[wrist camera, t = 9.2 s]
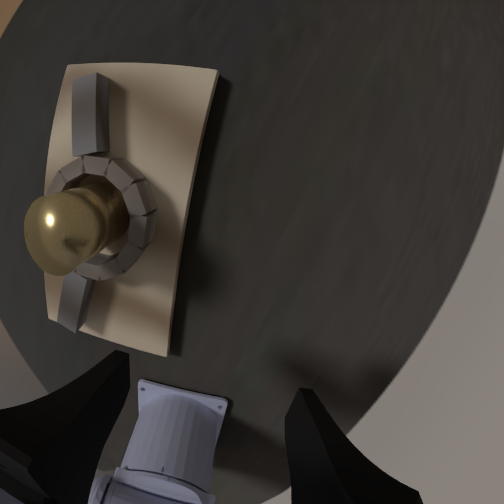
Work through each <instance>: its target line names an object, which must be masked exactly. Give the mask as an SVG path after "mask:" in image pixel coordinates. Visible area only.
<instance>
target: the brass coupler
mask: <svg viewBox="0 0 504 504" xmlns="http://www.w3.org/2000/svg"><path fill="white" fill-rule="evenodd" d="M129 224H130V214H129V212H128V209H127V206H126V203H125V200H124V197H123V195H122V192H121V191H120V190H119V189H118V188H117V187H116V186H115V185H113V184H112V183H109V182H99V183H95V184H90V185H86V186H81V187H77V188H73V189H69V190H65V191H61V192H57V193H53V194H50V195H46V196H42V197H40V198H38V199H37V200H35V201H34V202H33V203H32V204H31V206H30V207H29V209H28V211H27V214H26V217H25V223H24V235H25V241H26V245H27V248H28V250H29V253H30V255H31V257H32V258H33V260H34V261H35V262H36V264H37V265H38V266H39V267H40V268H41V269H42V270H44V271H45V272H47V273H49V274H51V275H54V276H64V275H67V274H70V273H71V272H72V271H74V270H75V269H76V268H78V267H79V266H81V265H82V264H83V263H85V262H86V261H87V260H89V259H90V258H92V257H93V256H94V255H96V254H97V253H99V252H100V251H102V250H103V249H104V248H106V247H107V246H109V245H110V244H112V243H113V242H115V241H116V240H118V239H119V238H121V237H122V236H123V235H124V234H125V232H126V231H127V229H128V227H129Z"/></svg>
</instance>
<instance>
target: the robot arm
mask: <svg viewBox="0 0 504 504" xmlns="http://www.w3.org/2000/svg"><path fill="white" fill-rule="evenodd" d="M144 388H145V389H144ZM129 389H130V367H129V354H128V353H125V352H122V351H119V350H115V351H113V352H112V353H111V354H109V355H108V356H107V357H105V358H104V359H103V360H102V361H100V362H99V363H98V364H96V365H95V366H94V367H92V368H91V369H90V370H88V371H87V372H85V373H84V374H83V375H81V376H80V377H78V378H77V379H75V380H73V381H72V382H70V383H69V384H67V385H65V386H64V387H62V388H60V389H58V390H56V391H54V392H52V393H50V394H48V395H46V396H44V397H41V398H39V399H36V400H34V401H31V402H29V403H25V404H22V405H18V406H15V407H11V408H6V409H1V410H0V504H215V501H216V496H215V495H212V494H210V487H211V477H212V468H213V459H214V450H215V447H216V443H217V440H218V436H219V433H220V429H221V426H222V423H223V419H224V415H225V412H226V408H227V405H228V401H227V399H225V398H221V397H216V396H211V395H206V394H201V393H196V392H191V391H187V390H183V389H178V388H174V387H170V386H166V385H162V384H159V383H155V382H151V381H148V380H144V379H141V380H139V382H138V402H139V417H138V420H137V423H136V425H135V428H134V431H133V434H132V436H131V439H130V442H129V445H128V447H127V450H126V453H125V456H124V459H123V462H122V464H121V467H120V468H119V467H117V468H116V471H115V474H114V477H113V476H111V475H108V474H104V475H103V476H100V477H97V478H96V479H95V481H94V482H93V479H94V475H95V472H96V469H97V465H98V462H99V459H100V456H101V453H102V450H103V447H104V445H105V443H106V441H107V439H108V437H109V434H110V432H111V430H112V428H113V426H114V424H115V422H116V420H117V418H118V416H119V414H120V412H121V410H122V408H123V406H124V403H125V401H126V398H127V395H128V392H129ZM285 441H286V449H287V456H288V463H289V470H290V477H291V497H292V498H291V499H292V504H423V502H422V499H421V497H420V494H419V492H418V491H417V490H415V489H413V488H410V487H408V486H407V485H405V484H403V483H400V482H399V481H397V480H396V479H394V478H392V477H390V476H389V475H388V474H386V473H385V472H383V471H382V470H381V469H379V468H378V467H377V466H376V465H374V464H373V463H372V462H371V461H370V460H368V459H367V458H366V457H365V456H364V455H363V454H362V453H361V452H360V451H359V450H358V449H357V448H356V447H355V446H354V445H353V444H352V443H351V442H350V441H349V439H348V438H347V437H346V436H345V435H344V433H343V432H342V431H341V430H340V428H339V427H338V426H337V424H336V423H335V422H334V420H333V419H332V417H331V416H330V415H329V413H328V412H327V410H326V409H325V407H324V406H323V404H322V403H321V401H320V400H319V398H318V397H317V395H316V394H315V392H314V391H313V389H305V388H299V389H298V391H297V393H296V396H295V398H294V400H293V402H292V404H291V406H290V408H289V410H288V412H287V414H286V416H285ZM92 483H93V484H92Z"/></svg>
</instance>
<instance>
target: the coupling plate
mask: <svg viewBox="0 0 504 504" xmlns="http://www.w3.org/2000/svg"><path fill="white" fill-rule="evenodd" d="M218 77H219V73H218V70H213V69H206V68H198V67H189V66H179V65H167V64H150V63H90V64H74V65H67V69H66V72H65V76H64V79H63V83H62V87H61V90H60V94H59V99H58V103H57V107H56V112H55V117H54V122H53V127H52V133H51V139H50V145H49V152H48V160H47V168H46V178H45V190H44V196H46V195H50V194H53V193H57V192H61V191H65V190H69V189H73V188H77V187H81V186H86V185H90V184H95V183H99V182H109V183H112V184H113V185H115V186H116V187H117V188H118V189H119V190H120V191H121V192H122V195H123V197H124V200H125V203H126V206H127V209H128V212H129V214H130V224H129V227H128V229H127V231H126V232H125V234H124V235H123V236H122V237H121V238H119V239H118V240H116V241H115V242H113V243H112V244H110V245H109V246H107V247H106V248H104V249H103V250H102V251H100V252H99V253H97V254H96V255H94V256H93V257H92V258H90V259H89V260H87V261H86V262H85V263H83V264H82V265H81V266H79V267H78V268H76V269H75V270H74V271H72V272H71V273H70V274H67V275H64V276H54V275H51V274H49V273H47V272H45V271H44V278H45V290H46V300H47V308H48V316H49V319H51V320H54V321H56V322H58V323H60V324H61V325H63V326H64V327H66V328H67V329H69V330H71V331H72V332H74V333H75V334H76V332H77V331H78V330H80V331H83V332H85V333H88V334H91V335H94V336H97V337H100V338H103V339H106V340H109V341H112V342H115V343H118V344H122V345H125V346H128V347H132V348H135V349H139V350H142V351H146V352H149V353H153V354H157V355H160V356H164V357H167V355H168V352H169V350H170V340H171V330H172V321H173V312H174V304H175V296H176V288H177V281H178V274H179V267H180V260H181V253H182V247H183V241H184V234H185V228H186V223H187V217H188V211H189V206H190V200H191V195H192V190H193V185H194V180H195V175H196V170H197V165H198V160H199V155H200V151H201V146H202V142H203V137H204V133H205V129H206V124H207V120H208V116H209V112H210V108H211V104H212V100H213V96H214V92H215V88H216V85H217V81H218Z"/></svg>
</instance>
